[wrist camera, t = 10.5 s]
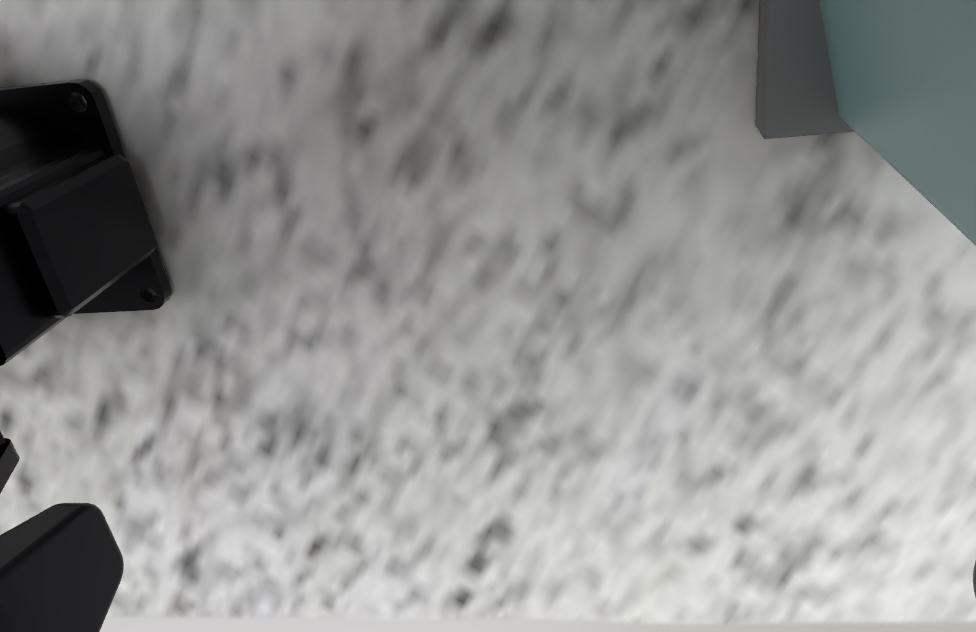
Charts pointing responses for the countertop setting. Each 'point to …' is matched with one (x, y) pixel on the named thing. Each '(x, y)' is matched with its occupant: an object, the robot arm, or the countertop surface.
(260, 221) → the countertop surface
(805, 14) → the foam pad
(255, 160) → the countertop surface
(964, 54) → the module
